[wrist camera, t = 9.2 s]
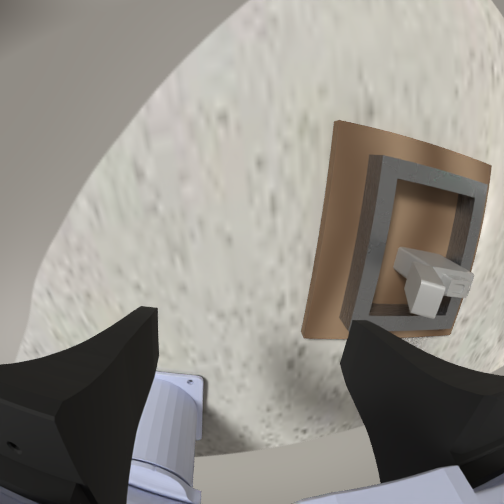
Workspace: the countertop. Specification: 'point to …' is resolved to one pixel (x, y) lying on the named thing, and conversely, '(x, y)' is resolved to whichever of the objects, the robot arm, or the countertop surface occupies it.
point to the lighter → (430, 280)
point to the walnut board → (401, 225)
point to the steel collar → (375, 236)
